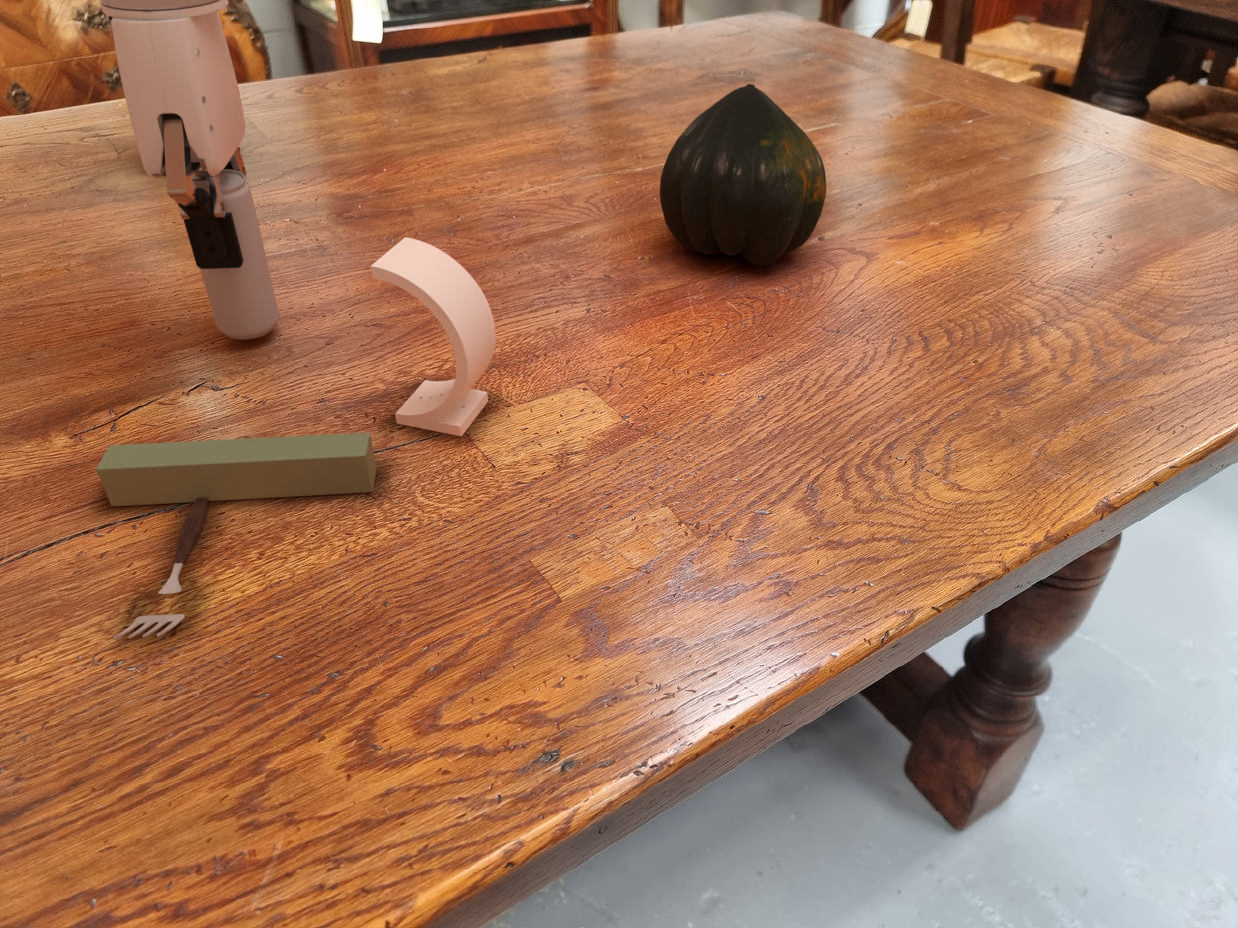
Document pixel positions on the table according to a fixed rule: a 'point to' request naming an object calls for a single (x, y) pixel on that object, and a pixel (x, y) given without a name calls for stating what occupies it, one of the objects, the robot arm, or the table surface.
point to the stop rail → (238, 469)
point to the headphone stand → (463, 322)
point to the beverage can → (241, 269)
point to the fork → (175, 571)
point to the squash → (743, 180)
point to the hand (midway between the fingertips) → (229, 247)
